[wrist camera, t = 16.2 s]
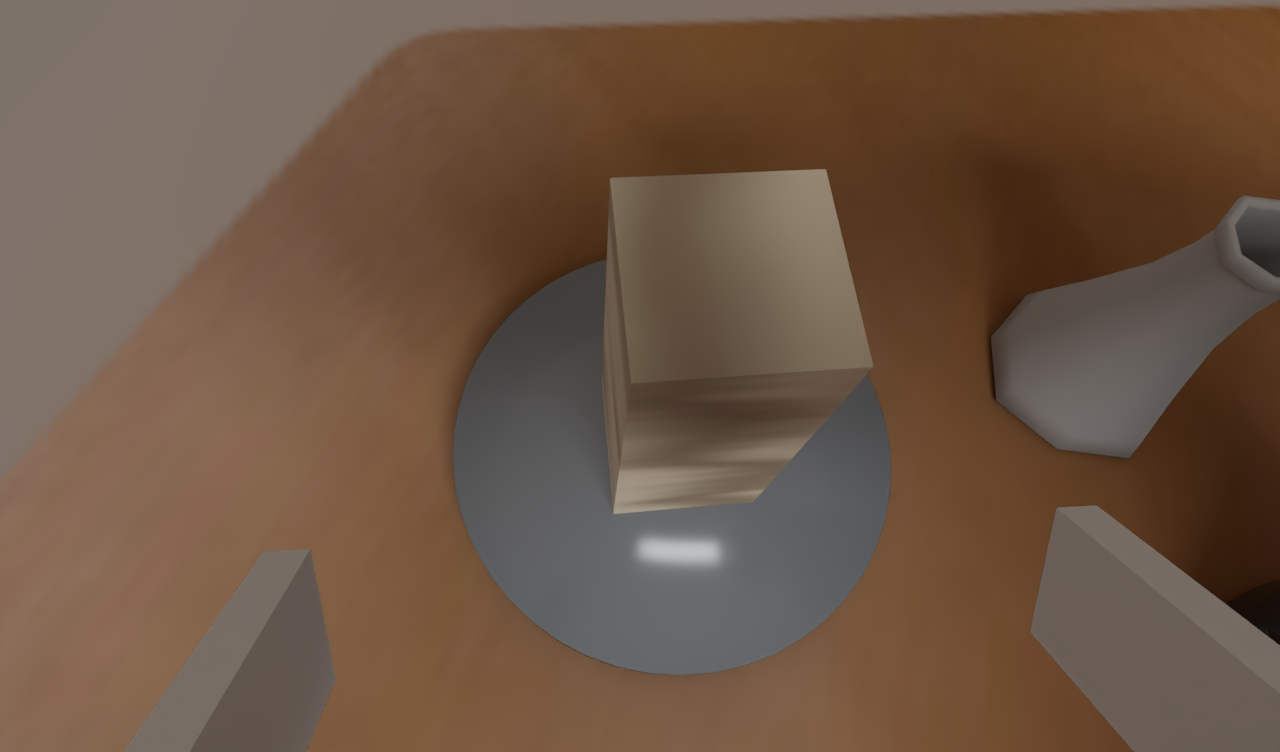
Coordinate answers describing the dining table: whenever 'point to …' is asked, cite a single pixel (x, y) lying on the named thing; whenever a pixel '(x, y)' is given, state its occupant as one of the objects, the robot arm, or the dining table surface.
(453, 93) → the dining table surface
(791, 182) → the birch block
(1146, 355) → the flask
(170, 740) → the robot arm
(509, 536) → the plate
